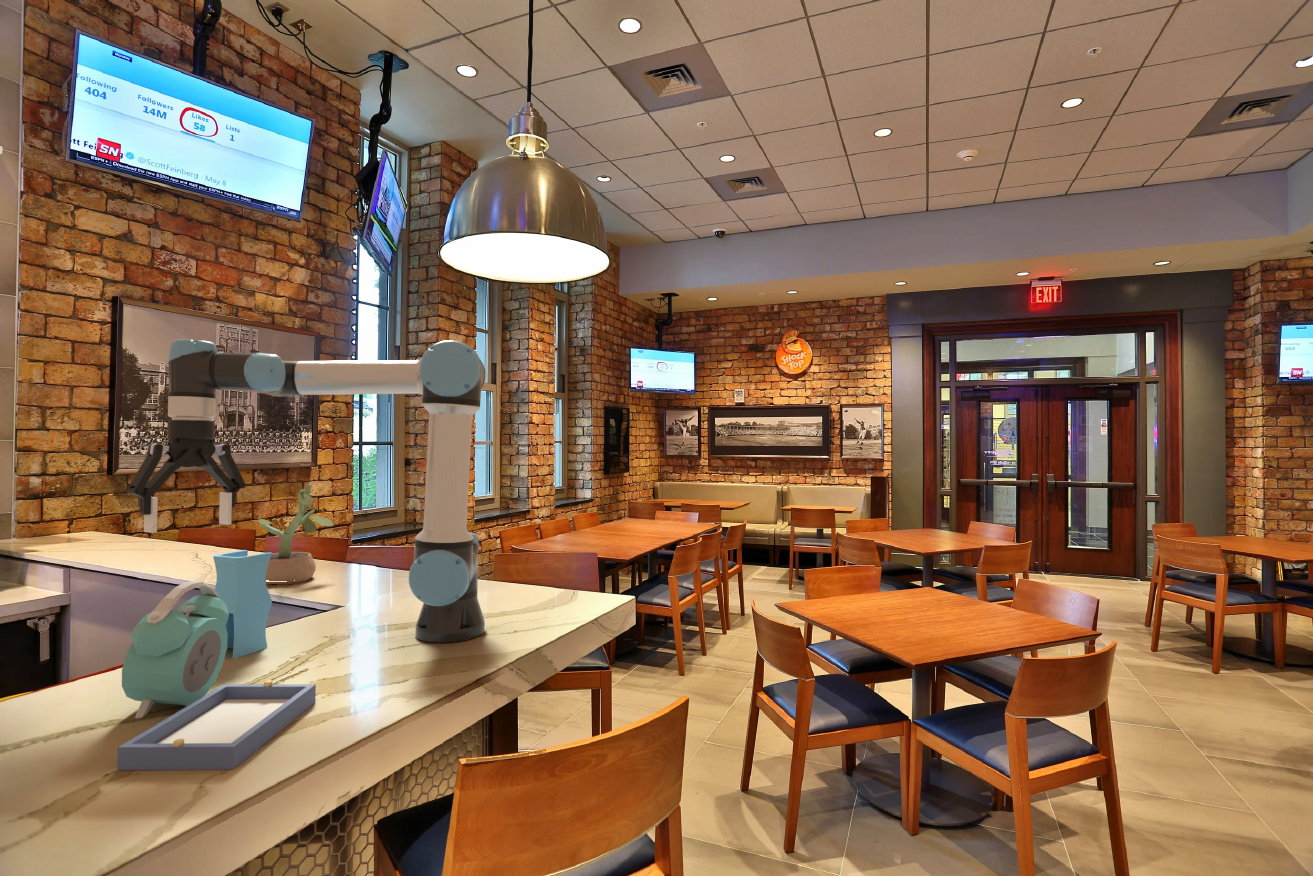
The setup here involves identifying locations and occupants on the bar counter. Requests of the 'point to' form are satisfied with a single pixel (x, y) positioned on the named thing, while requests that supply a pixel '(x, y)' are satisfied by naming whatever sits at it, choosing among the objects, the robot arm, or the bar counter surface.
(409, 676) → the bar counter surface
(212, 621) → the alarm clock
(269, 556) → the vase
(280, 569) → the potted plant
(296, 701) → the shallow rectangular tray
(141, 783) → the bar counter surface
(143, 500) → the robot arm
